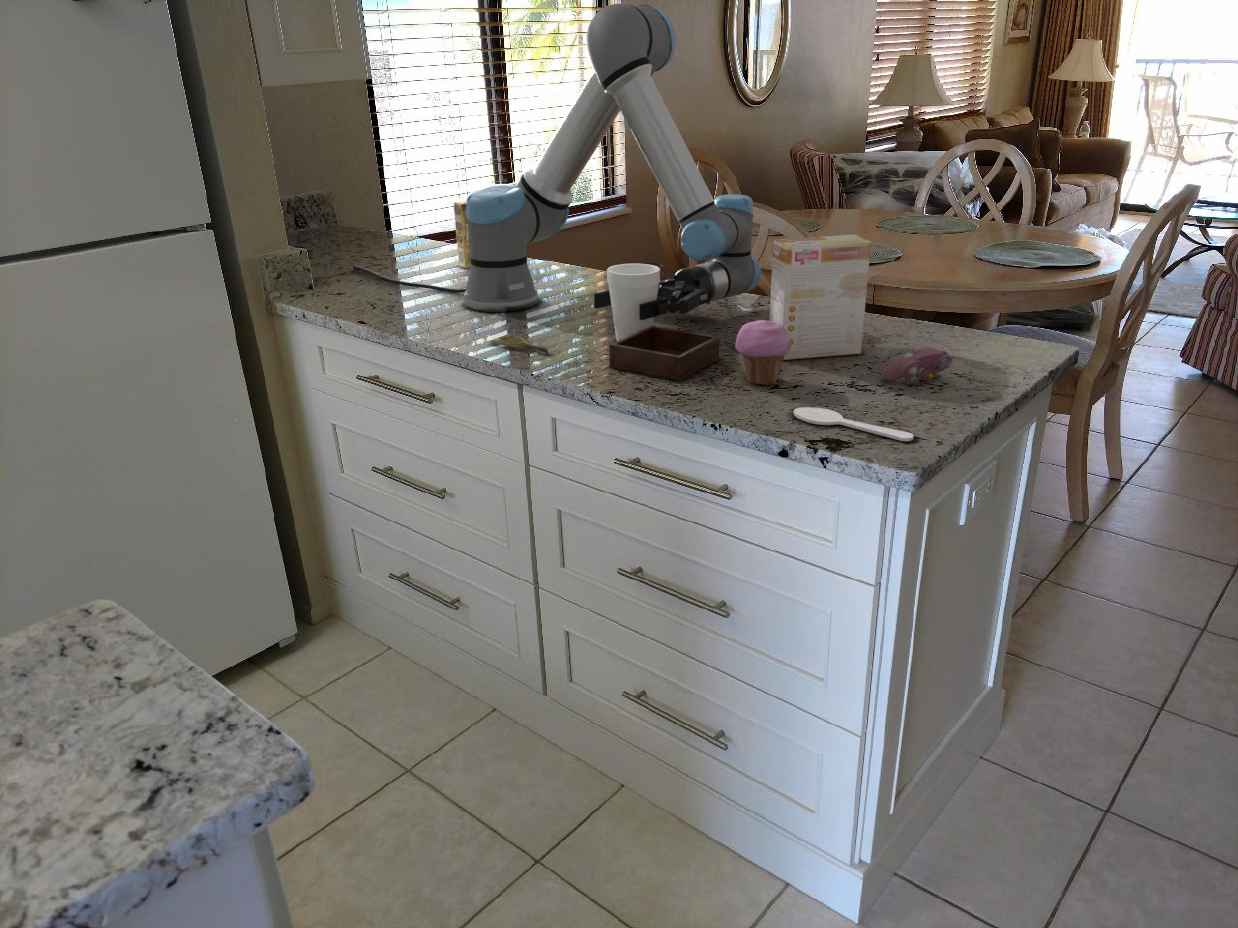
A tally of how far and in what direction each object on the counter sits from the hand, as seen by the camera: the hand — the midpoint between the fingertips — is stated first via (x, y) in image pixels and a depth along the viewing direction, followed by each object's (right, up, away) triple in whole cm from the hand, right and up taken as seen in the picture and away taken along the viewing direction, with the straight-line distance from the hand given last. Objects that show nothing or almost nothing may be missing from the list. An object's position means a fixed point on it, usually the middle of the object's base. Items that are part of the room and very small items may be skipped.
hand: (617, 306), depth 170 cm
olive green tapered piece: (-17, -7, +2) cm, 19 cm away
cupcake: (+23, -15, -16) cm, 32 cm away
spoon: (+33, -23, -35) cm, 53 cm away
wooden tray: (+8, -11, -7) cm, 15 cm away
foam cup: (+3, -5, +6) cm, 8 cm away
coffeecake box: (+34, -9, -2) cm, 36 cm away
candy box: (-34, +21, +65) cm, 77 cm away
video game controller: (+48, -15, -17) cm, 53 cm away
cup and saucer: (+6, +8, +36) cm, 38 cm away
